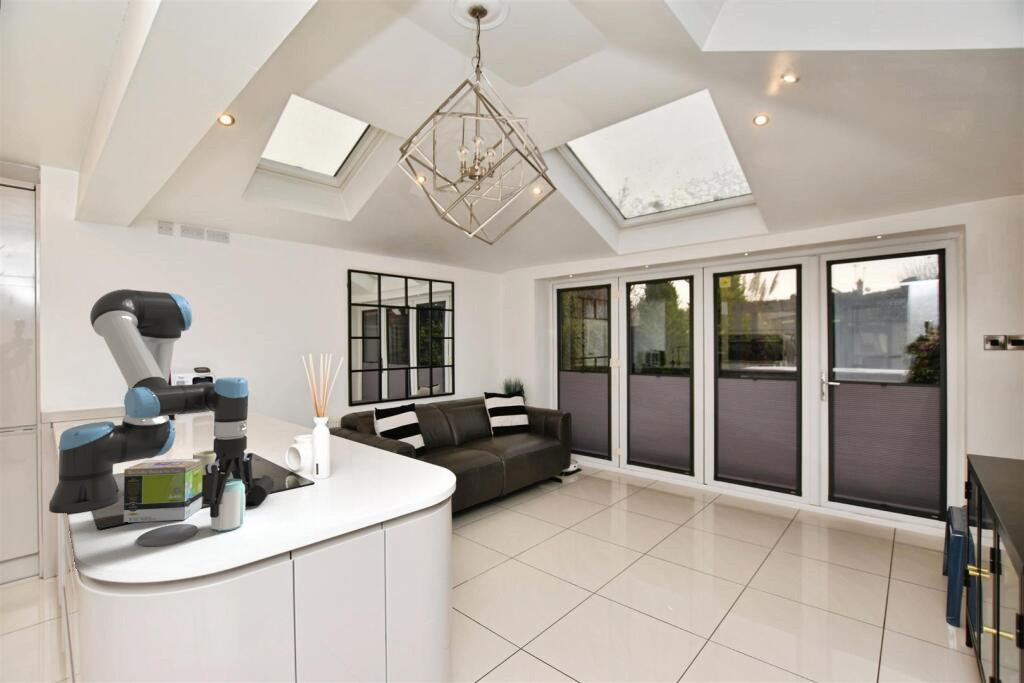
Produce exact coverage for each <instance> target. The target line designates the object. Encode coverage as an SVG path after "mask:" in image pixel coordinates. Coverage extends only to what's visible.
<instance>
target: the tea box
mask: <svg viewBox="0 0 1024 683" xmlns="http://www.w3.org/2000/svg"><path fill="white" fill-rule="evenodd" d="M123 477H124V479H123V523H124V522H128V523H144V522H163V521H184V520H186V519H188V518H189V517H191V516H192V515H194V514H195V513H197V512H198V511H199V510H201V509H202V506H203V494H202V459H193V458H186V459H185V458H183V459H182V458H180V459H175V458H174V459H151V460H145V461H142V462H140V463H137V464H134V465H133V466H129V467H127V468H125V469H124V474H123Z"/></svg>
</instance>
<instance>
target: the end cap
mask: <svg viewBox="0 0 1024 683" xmlns="http://www.w3.org/2000/svg"><path fill="white" fill-rule="evenodd" d="M252 478H253V477H252ZM247 483H248V482H247ZM274 487H275V483H274V480H273V478H272V477H271V476H269V475H262V476H261V477H255V478H253V487H252V488H249V489H251V491H250V492H249V493H247V494H246V504H245V508H256V507H258V506H260V505H261V504H262V503H263V502H264V501H265V500H266V499H267V498H268V496H269V494H271V491H272V490H273V489H274Z"/></svg>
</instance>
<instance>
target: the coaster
mask: <svg viewBox="0 0 1024 683" xmlns="http://www.w3.org/2000/svg"><path fill="white" fill-rule="evenodd" d="M197 533H198V527H197V525H194V524H189V523H179V524H178V523H177V524H170V525H165V526H160V527H157V528H154V529H151V530H148V531H146V532H144V533H142V534H140V535H139V536H138V537H137V539H136V540H137V542H136V543H137V545H138V546H140V547H145V548H157V547H164V546H169V545H173V544H174V545H175V544H177V543H181V542H183V541H186V540H188V539H190V538H193V537H194V536H195V535H196V534H197Z"/></svg>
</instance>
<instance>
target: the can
mask: <svg viewBox="0 0 1024 683" xmlns="http://www.w3.org/2000/svg"><path fill="white" fill-rule="evenodd" d="M244 499H245V485H244V484H243V483H242V480H241V479H234V478H227V482H226V485H225V489H224V492H223V496H222V499H221V503H223V529H221V530H217V529H215V531H218V532H228V531H233V530H236V529H238V528H239V527H241V526H242V525H243V524H244V523H245V518H244ZM215 500H216V498H215Z"/></svg>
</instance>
